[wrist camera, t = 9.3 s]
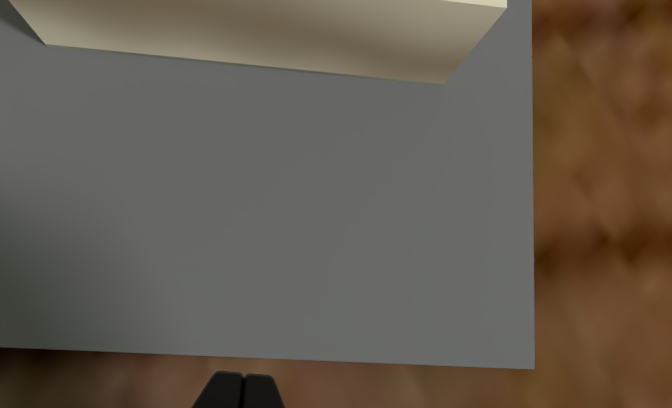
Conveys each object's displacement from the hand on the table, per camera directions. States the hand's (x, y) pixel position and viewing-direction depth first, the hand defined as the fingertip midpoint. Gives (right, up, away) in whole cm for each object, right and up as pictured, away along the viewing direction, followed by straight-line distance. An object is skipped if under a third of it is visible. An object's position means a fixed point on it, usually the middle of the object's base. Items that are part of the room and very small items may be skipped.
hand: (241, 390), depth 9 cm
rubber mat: (-1, +9, +10) cm, 14 cm away
